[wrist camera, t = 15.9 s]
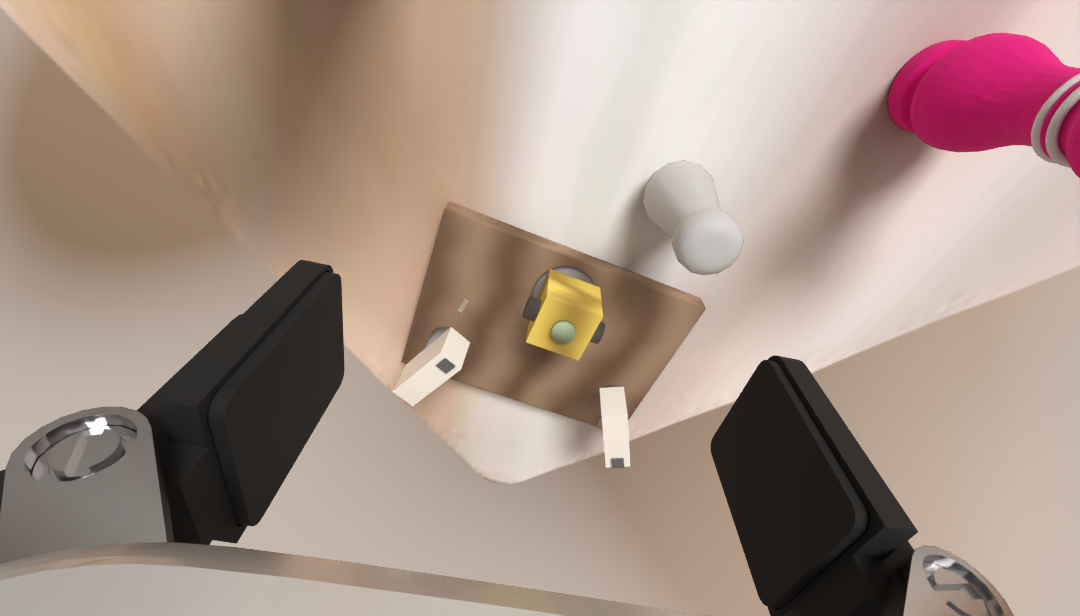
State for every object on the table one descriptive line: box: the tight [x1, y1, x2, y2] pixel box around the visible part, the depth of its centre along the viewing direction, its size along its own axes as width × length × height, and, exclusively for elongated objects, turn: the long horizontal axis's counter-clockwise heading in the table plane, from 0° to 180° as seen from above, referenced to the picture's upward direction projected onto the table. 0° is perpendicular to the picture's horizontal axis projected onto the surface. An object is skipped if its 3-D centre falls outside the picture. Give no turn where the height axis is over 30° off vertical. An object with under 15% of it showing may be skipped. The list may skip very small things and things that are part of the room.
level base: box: [402, 202, 706, 428], centre depth 45 cm, size 26×19×9 cm
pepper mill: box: [888, 33, 1080, 178], centre depth 26 cm, size 7×7×20 cm
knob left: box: [393, 327, 470, 406], centre depth 44 cm, size 7×3×7 cm, turn 133°
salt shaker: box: [643, 160, 744, 275], centre depth 34 cm, size 6×6×13 cm
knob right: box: [600, 385, 630, 468], centre depth 47 cm, size 7×3×7 cm, turn 8°
